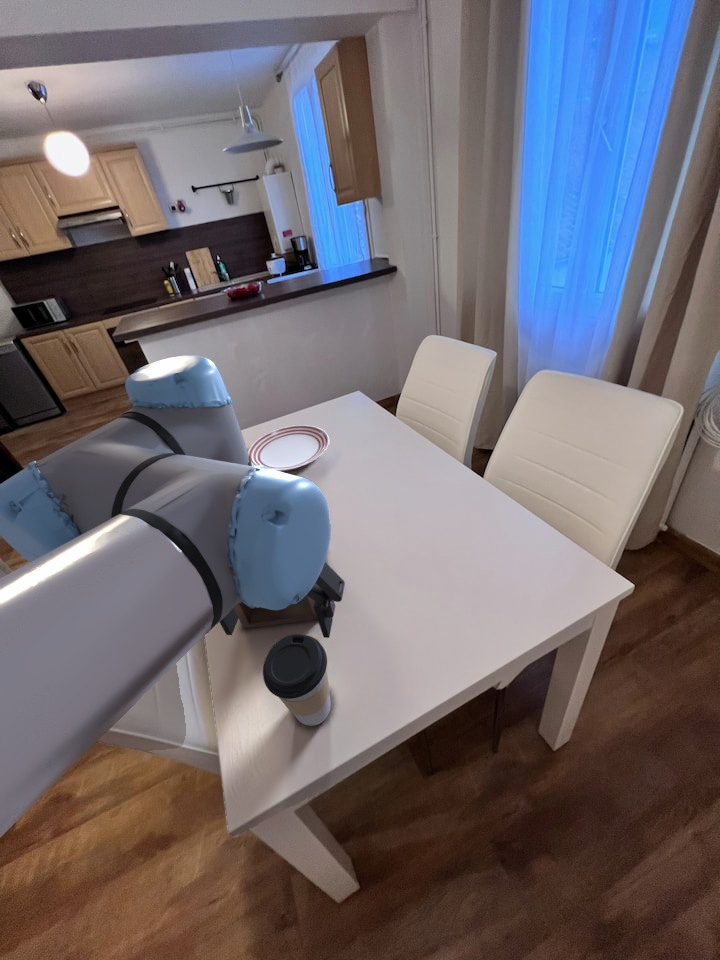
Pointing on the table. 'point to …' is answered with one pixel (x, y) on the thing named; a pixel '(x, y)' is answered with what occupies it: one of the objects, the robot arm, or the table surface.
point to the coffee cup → (299, 677)
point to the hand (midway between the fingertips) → (279, 627)
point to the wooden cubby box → (276, 614)
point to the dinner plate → (289, 447)
